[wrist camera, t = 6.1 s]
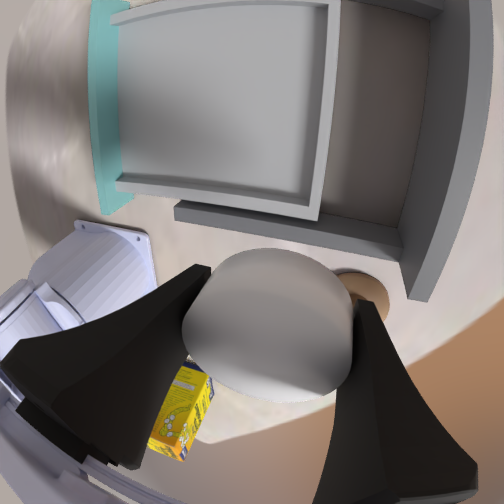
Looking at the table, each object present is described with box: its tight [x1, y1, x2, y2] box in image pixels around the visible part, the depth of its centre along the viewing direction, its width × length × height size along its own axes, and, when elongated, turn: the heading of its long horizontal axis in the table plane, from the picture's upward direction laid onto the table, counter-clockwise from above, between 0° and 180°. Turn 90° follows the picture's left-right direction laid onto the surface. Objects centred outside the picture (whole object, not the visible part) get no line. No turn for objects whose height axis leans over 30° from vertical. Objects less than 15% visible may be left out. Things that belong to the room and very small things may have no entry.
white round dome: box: [182, 248, 353, 403], centre depth 9 cm, size 5×5×2 cm
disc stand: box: [336, 272, 390, 321], centre depth 20 cm, size 6×6×4 cm
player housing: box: [174, 0, 493, 302], centre depth 12 cm, size 16×16×6 cm
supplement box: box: [147, 362, 214, 461], centre depth 29 cm, size 6×6×11 cm
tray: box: [88, 0, 341, 221], centre depth 15 cm, size 15×16×3 cm
